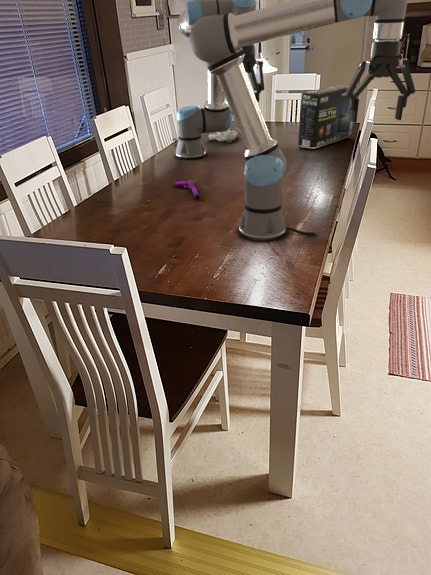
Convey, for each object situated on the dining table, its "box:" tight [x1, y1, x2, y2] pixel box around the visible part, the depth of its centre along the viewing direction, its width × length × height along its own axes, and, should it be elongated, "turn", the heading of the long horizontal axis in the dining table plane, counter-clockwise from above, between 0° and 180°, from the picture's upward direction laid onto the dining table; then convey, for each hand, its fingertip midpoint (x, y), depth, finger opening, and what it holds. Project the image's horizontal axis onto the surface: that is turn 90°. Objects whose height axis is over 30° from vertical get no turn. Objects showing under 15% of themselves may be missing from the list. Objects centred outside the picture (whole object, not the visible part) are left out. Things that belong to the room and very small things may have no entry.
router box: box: [297, 84, 358, 151], centre depth 238 cm, size 36×11×27 cm, turn 134°
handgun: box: [174, 179, 200, 201], centre depth 185 cm, size 21×8×2 cm, turn 11°
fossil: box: [208, 126, 241, 144], centre depth 258 cm, size 18×11×15 cm
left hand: (244, 112), depth 171 cm, fingers closed on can, 8 cm apart
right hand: (375, 120), depth 138 cm, fingers open, 13 cm apart
